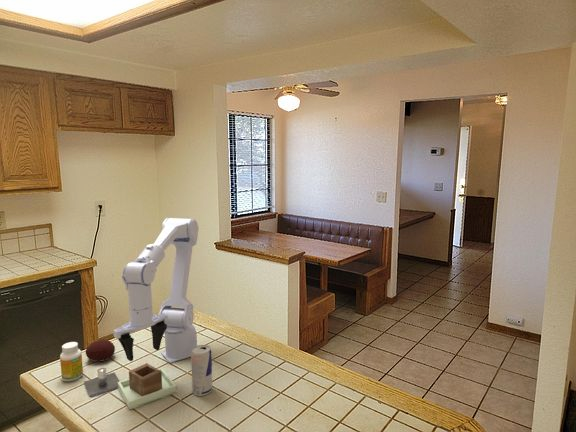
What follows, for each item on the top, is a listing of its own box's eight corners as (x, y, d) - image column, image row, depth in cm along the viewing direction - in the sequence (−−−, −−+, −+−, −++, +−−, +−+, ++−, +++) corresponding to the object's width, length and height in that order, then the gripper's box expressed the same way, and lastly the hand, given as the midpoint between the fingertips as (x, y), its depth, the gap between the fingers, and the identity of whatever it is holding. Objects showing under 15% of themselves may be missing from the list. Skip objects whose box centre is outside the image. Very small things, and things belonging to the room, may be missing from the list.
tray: (162, 374, 114) (161, 367, 113) (176, 392, 105) (176, 385, 105) (118, 388, 106) (117, 382, 106) (129, 409, 98) (129, 402, 97)
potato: (94, 352, 126) (93, 335, 126) (120, 353, 126) (118, 335, 125) (82, 364, 119) (80, 346, 118) (108, 365, 119) (107, 346, 118)
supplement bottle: (73, 382, 109) (71, 350, 108) (57, 380, 110) (54, 348, 109) (87, 372, 115) (84, 341, 113) (71, 370, 116) (68, 339, 114)
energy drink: (216, 387, 107) (215, 346, 106) (205, 398, 102) (204, 355, 101) (199, 383, 109) (197, 343, 107) (188, 394, 104) (186, 352, 102)
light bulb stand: (114, 374, 114) (113, 359, 113) (121, 386, 107) (120, 371, 107) (84, 383, 109) (82, 368, 108) (89, 397, 103) (88, 381, 102)
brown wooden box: (129, 388, 106) (128, 371, 105) (147, 379, 110) (146, 363, 109) (144, 398, 102) (143, 380, 101) (162, 388, 106) (161, 371, 105)
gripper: (157, 295, 112) (159, 340, 114) (106, 310, 101) (110, 359, 103) (171, 301, 107) (173, 348, 109) (119, 317, 96) (122, 368, 98)
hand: (143, 354), depth 106 cm, fingers open, 7 cm apart
